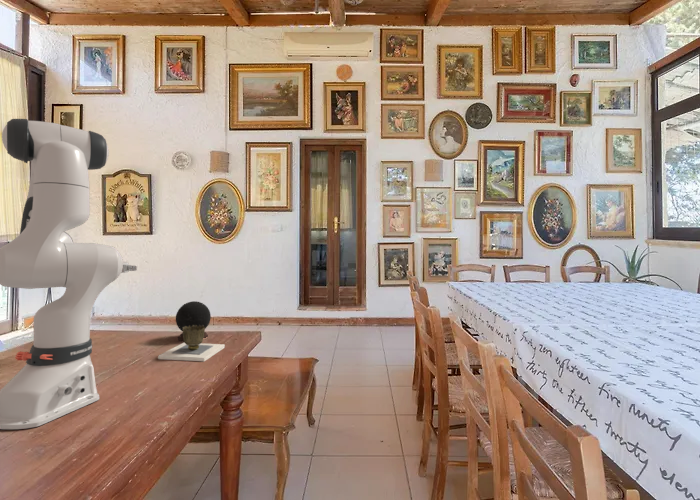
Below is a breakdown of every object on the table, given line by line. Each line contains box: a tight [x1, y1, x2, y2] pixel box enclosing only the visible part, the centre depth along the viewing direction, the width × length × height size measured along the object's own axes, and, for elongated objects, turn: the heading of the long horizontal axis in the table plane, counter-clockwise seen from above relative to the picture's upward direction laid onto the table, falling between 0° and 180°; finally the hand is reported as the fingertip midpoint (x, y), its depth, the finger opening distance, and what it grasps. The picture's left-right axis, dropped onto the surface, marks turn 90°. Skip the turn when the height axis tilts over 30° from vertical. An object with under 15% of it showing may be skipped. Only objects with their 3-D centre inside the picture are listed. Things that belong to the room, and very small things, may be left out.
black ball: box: [175, 300, 212, 343], centre depth 151 cm, size 13×13×15 cm
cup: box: [182, 325, 206, 350], centre depth 130 cm, size 8×7×8 cm
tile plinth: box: [157, 342, 226, 362], centre depth 131 cm, size 16×16×2 cm
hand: (129, 269), depth 126 cm, fingers open, 8 cm apart
